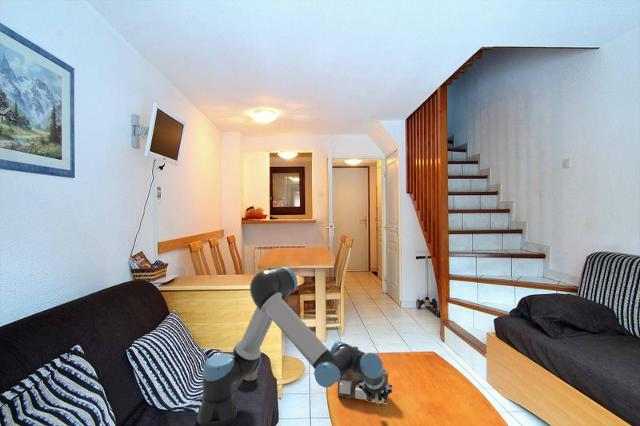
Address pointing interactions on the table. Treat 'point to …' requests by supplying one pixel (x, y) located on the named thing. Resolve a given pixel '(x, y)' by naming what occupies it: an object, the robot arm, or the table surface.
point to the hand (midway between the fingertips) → (377, 400)
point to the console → (357, 383)
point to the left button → (345, 387)
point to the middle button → (360, 393)
